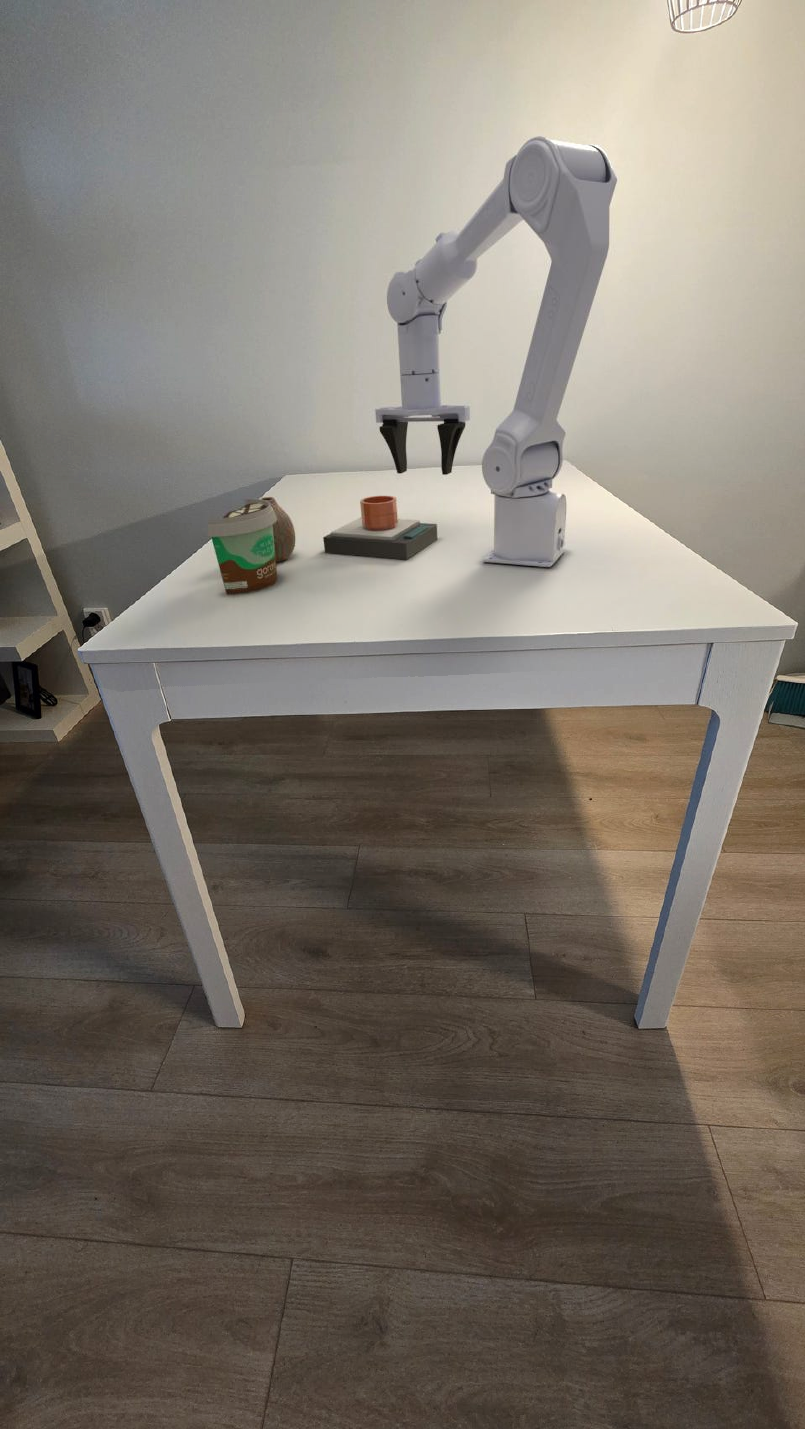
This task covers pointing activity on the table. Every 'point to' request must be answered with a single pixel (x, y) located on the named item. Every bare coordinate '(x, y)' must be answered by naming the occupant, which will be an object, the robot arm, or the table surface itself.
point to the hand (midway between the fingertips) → (424, 473)
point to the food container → (245, 547)
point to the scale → (381, 539)
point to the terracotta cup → (379, 512)
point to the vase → (282, 532)
